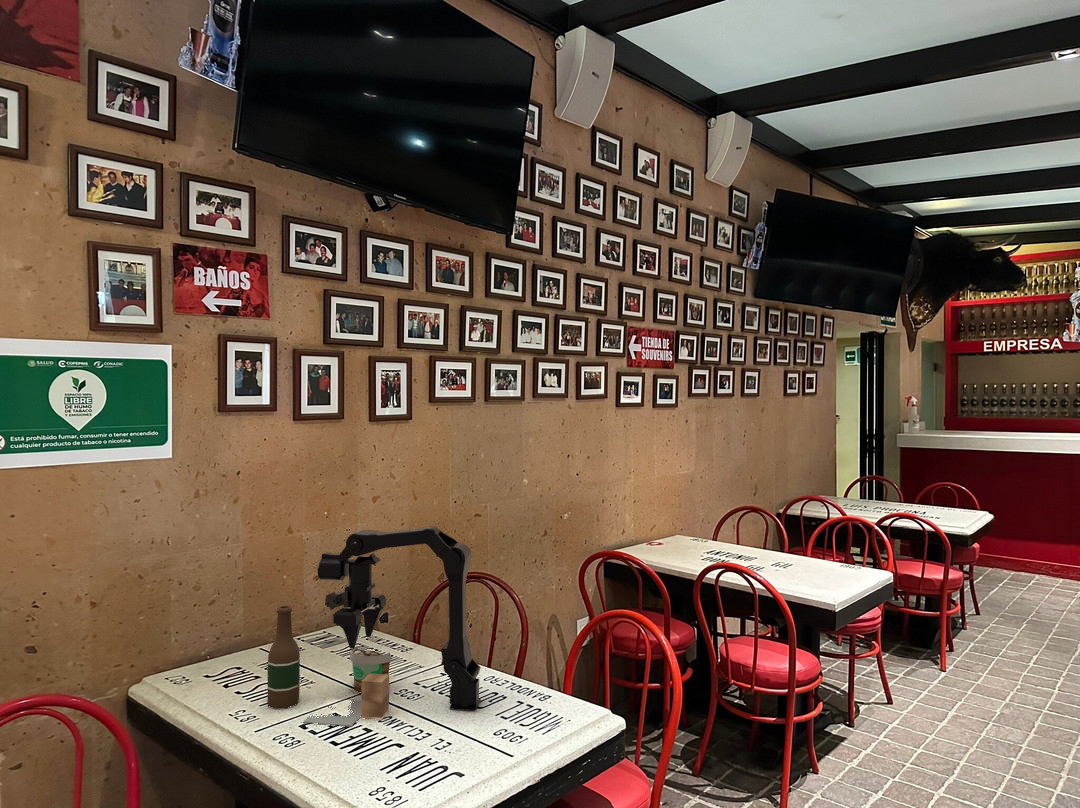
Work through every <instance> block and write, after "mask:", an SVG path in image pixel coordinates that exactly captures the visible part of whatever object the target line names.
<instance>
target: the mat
mask: <svg viewBox="0 0 1080 808" xmlns="http://www.w3.org/2000/svg"><path fill="white" fill-rule="evenodd" d="M350 700H351V701H352V703H351V702H350V703H351V707H350V708H351V709H350V708H349V706H350V705H349V706H348V708H349V709H350V711H351V710H352V711H353V712H352V711H351V712H352V713H351V712H350V711H349V712H350V714H349V715H350V716H349V715H347V717H346V716H342V717H341V716H340V717H339V715H338V716H334V715H335V714H334V715H333V714H332V715H333V716H332V715H331V714H328V716H327V715H326V716H327V717H326V716H325V715H323V716H322V717H321V716H317V717H319V718H317V717H316V716H313V715H312V716H311V717H310V715H309V716H307V718H306V719H304V720H302V723H303V724H307V723H318V724H317V725H321V724H330V725H329V726H334V725H340V726H339V727H350V728H351V727H353V726H354V725H355V724H356V723H357V722H358V720H359V719H361V717H360V716H361V700H360V699H359V700H358V699H350ZM353 702H354V703H353ZM331 707H332V706H331ZM331 707H330V708H331ZM328 708H329V706H328ZM335 708H336V707H335ZM335 708H334V709H335ZM332 709H333V708H332ZM332 709H331V710H332ZM349 709H348V710H349ZM353 713H354V714H353ZM316 715H317V714H316ZM321 715H322V714H321ZM330 715H331V716H330ZM324 716H325V717H324ZM312 717H313V718H312ZM315 717H316V718H315ZM356 721H357V722H356ZM355 722H356V723H355ZM354 723H355V724H354ZM353 724H354V725H353Z"/></svg>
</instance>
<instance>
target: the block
mask: <svg viewBox="0 0 1080 808" xmlns="http://www.w3.org/2000/svg"><path fill="white" fill-rule="evenodd" d="M360 694H361V695H360V696H361V717H360V719H361V718H365V719H364V720H369V719H376V720H375V721H383V719H384V718H385V717H386V716H387V714H389V712H390V708H389V707H390V674H389V675H387V674H371V673H369V674H368V675H367V676H366V677H365V678H364V679H363V680H362V692H361V693H360ZM385 715H386V716H385ZM384 716H385V717H384Z"/></svg>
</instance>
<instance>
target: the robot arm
mask: <svg viewBox="0 0 1080 808" xmlns="http://www.w3.org/2000/svg"><path fill="white" fill-rule="evenodd" d="M425 544H426V546H428V547H429V548H430V550H432V552H433V553H434V555H436V557H438V558H439V559H440V560H441V561H442V563H443V569H444V574H445V576H446V579H447V581H448V640H447V641H446V642H445V643H444V645H443V646H442V647H441V650H440V652H441V663H440V667H441V666H443V672H444V673H445V674H446V675H447V676H448V677H449V680H450V682H451V685H450V687H449V704H450V706H449V710H456V711H457V710H459V711H473V712H475V711H476V710H477V709H478V707H479V705H480V703H481V702H482V700H481V698H480V678H477V676H478V675H479V674H480V670H481V666H480V664H478V663H477V662H476V660H475V659H473V656H472V655H473V654H472V651H471V646H470V642H469V640H468V637H467V581H466V580H467V577H468V573H469V569H470V564H471V558H472V551H471V548H470V547H469V546H468V545H467V544H465V543H463V542H459V541H457V540H456V539H455V538H454V537H452V536H450V535H449V534H447V533H445V532H443V531H442V530H441V529H439V527H437V526H435V525H430V526H428V527H419V528H410V529H403V530H402V529H401V530H392V531H380V530H376V529H360V530H359V531H356V532H353V533H352V534H349V536H348V537H347V539H346V541H345V547H344V548H343V549H342V551H341V552H340V553H336V552H335V553H332V552H326V551H325V552H323V553H322V554H321V559H320V560H319V563H318V564H319V565H318V566H317V577H318V579H319V580H323V581H344V580H345V578H346V577H348V584H347V585H346V586H345V587H344V590H342V591H339V592H335V591H333V592H331V593H328V594H326V595H325V602H324V605H325V606H326V607H327V608H329V611H332V610H334V609H335V608H339V607H341V608H340V609H338V610H337V611H335V612H334V613H333V614H332V624H333V625H334V624H335V625H336V626H337V627H340V628H342V631H343V634H344V635H345V637H346V640H347V644H348V647H349V649H351V650H352V649H354V648H355V646H357V642H358V637H359V635H360V631H361V628H362V625H363V621H364V629H365V630H364V631H365V636H366V638H371V637H372V636H373V635H372V634H373V632H374V630H375V628H376V626H377V625H376V624H377V622H378V621H379V618H380V617H381V615H382V613H383V611H384V609H385V606H386V605H387V597H386V595H384V594H382V593H380V594H379V593H373V589H374V588H376V583H374V582H373V565H377V564H378V563H379V562H381V559H380V558H379V557H378V556H377V555H376V554H375V553H374V552H376V551H379V550H382V549H388V548H397V547H398V548H399V547H405V546H406V547H407V546H417V545H418V546H419V545H425ZM368 554H369V555H368ZM352 557H356V558H355V559H354V558H353V559H352ZM342 606H343V607H342ZM362 619H363V621H362Z"/></svg>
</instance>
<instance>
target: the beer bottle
mask: <svg viewBox="0 0 1080 808" xmlns="http://www.w3.org/2000/svg"><path fill="white" fill-rule="evenodd" d="M292 611H293V609H292V606H289V605H281V606H278V607H277V609H276V613H277V617H276V619H277V620H276V621H277V622H276V635H275V639H274V641H273V643H272V644H271V647H270V650H269V653H268V656H267V657H268V658H267V692H266V695H267V698H266V699H267V706H268V707H269V706H270V707H269V708H271V707H273V708H272V709H274V708H285V709H289V708H291V707H290V706H292V707H294V706H296V705H295V704H297V705H298V703H299V700H300V681H301V680H300V679H301V677H300V676H301V675H300V674H301V673H300V671H301V670H300V669H301V664H300V661H301V659H300V657H301V656H300V653H301V652H300V648H299V645H298V642H296V640H295V638H294V635H293V625H292V624H293V623H292ZM293 705H294V706H293ZM288 707H289V708H288Z"/></svg>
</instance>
